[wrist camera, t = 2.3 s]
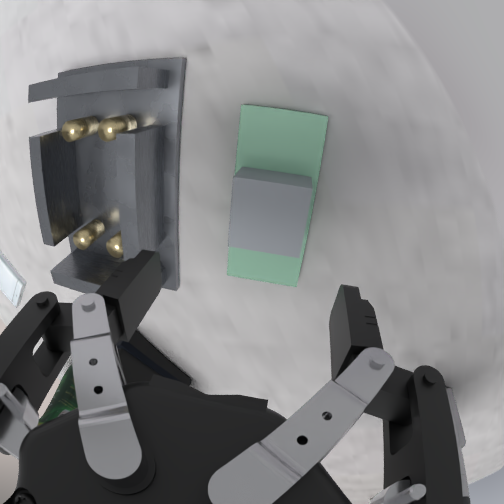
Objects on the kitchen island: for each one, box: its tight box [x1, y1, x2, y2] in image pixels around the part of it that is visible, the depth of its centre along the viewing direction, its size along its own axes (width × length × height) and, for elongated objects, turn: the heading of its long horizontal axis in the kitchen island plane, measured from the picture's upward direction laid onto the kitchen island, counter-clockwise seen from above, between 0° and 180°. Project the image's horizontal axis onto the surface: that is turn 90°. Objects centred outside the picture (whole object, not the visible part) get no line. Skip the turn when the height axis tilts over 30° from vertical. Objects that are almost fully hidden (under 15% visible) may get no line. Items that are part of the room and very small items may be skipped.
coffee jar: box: [38, 365, 78, 425], centre depth 36 cm, size 10×8×19 cm
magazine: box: [116, 330, 191, 386], centre depth 31 cm, size 4×13×15 cm, turn 38°
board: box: [227, 105, 328, 287], centre depth 22 cm, size 14×6×5 cm, turn 174°
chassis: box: [28, 58, 186, 294], centre depth 22 cm, size 21×13×6 cm, turn 174°
